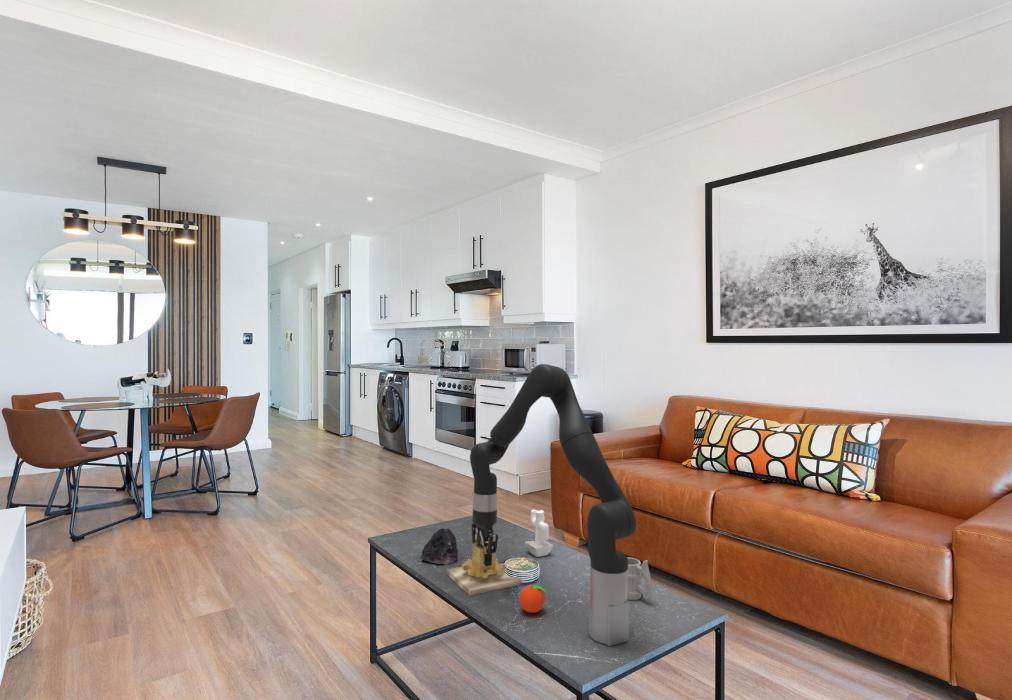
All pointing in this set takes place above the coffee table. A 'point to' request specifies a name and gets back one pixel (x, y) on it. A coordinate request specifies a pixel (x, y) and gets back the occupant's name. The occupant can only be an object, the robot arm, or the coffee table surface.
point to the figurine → (539, 535)
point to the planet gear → (482, 563)
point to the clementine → (532, 598)
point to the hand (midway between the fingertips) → (483, 561)
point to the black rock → (441, 548)
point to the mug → (638, 579)
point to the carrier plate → (481, 581)
